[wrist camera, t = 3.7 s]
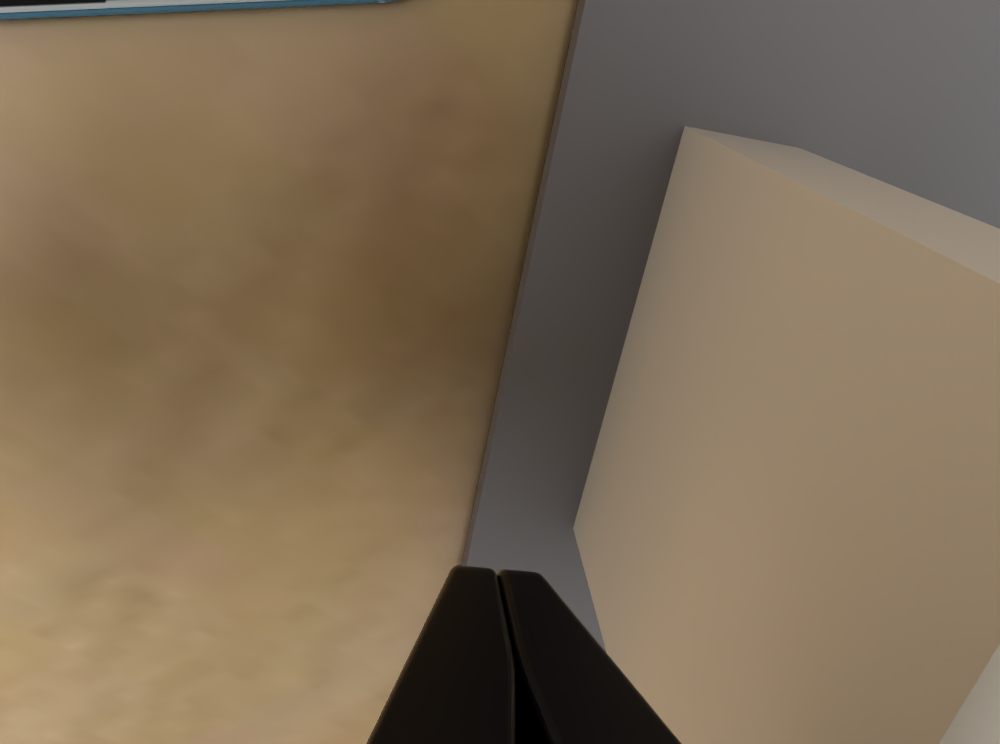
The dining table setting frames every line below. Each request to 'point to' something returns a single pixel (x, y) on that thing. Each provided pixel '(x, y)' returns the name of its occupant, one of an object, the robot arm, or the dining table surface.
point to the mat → (644, 181)
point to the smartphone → (144, 6)
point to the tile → (804, 460)
